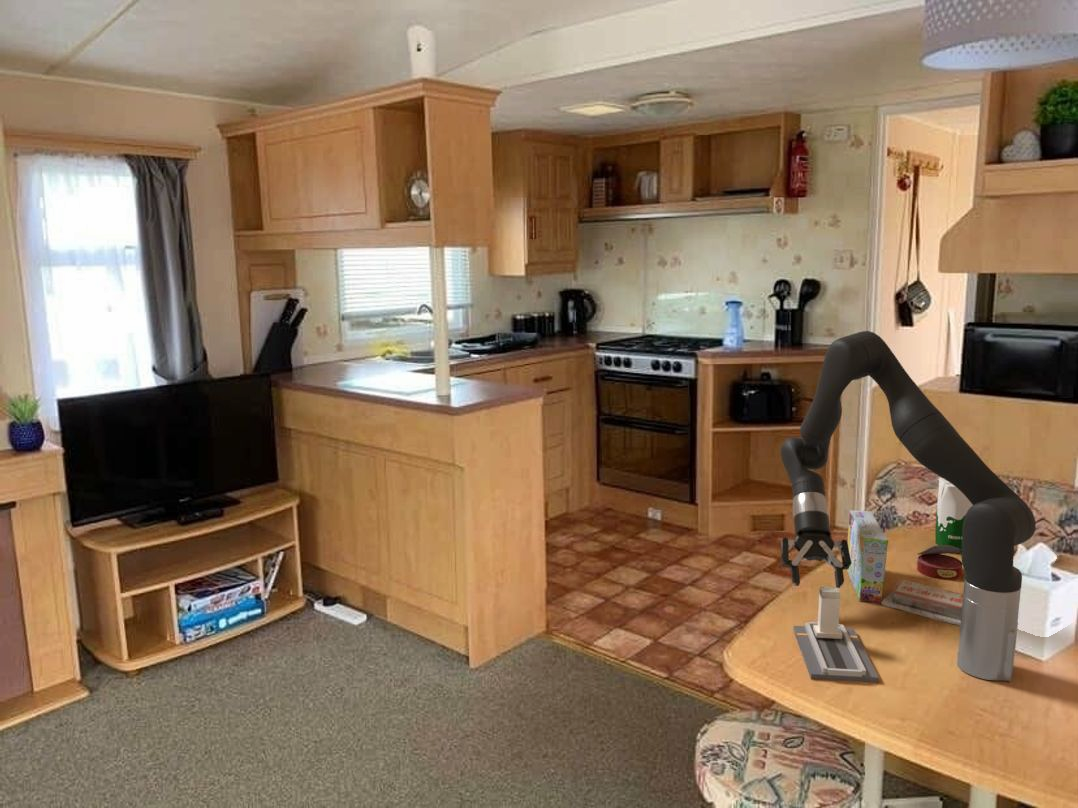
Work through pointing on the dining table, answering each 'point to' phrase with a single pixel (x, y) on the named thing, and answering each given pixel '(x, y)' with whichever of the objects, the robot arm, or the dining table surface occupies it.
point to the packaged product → (926, 601)
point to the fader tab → (828, 614)
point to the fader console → (835, 655)
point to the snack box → (866, 555)
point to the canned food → (940, 563)
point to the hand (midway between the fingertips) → (818, 585)
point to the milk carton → (950, 515)
